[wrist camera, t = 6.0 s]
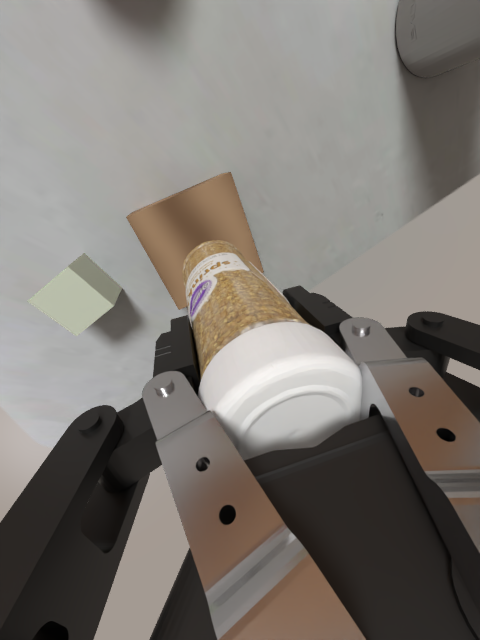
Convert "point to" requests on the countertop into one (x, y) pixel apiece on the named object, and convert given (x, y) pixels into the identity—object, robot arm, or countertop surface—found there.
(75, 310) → the sage cube
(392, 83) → the countertop surface
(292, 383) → the sprinkles bottle
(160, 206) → the walnut block
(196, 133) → the countertop surface
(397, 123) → the countertop surface
